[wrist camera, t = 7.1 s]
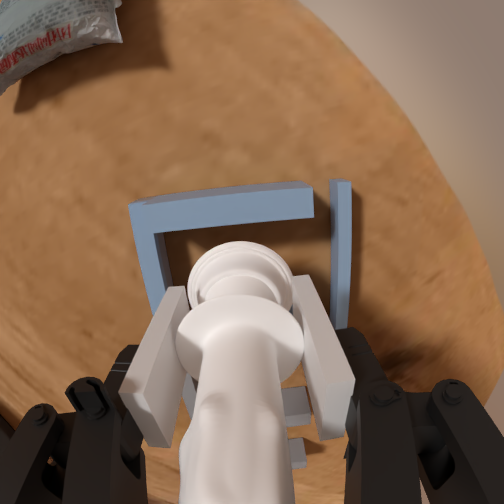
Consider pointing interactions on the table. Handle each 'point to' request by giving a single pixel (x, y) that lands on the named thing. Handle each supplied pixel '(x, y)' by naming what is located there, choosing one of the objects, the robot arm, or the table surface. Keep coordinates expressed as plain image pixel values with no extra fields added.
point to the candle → (238, 377)
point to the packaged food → (50, 32)
